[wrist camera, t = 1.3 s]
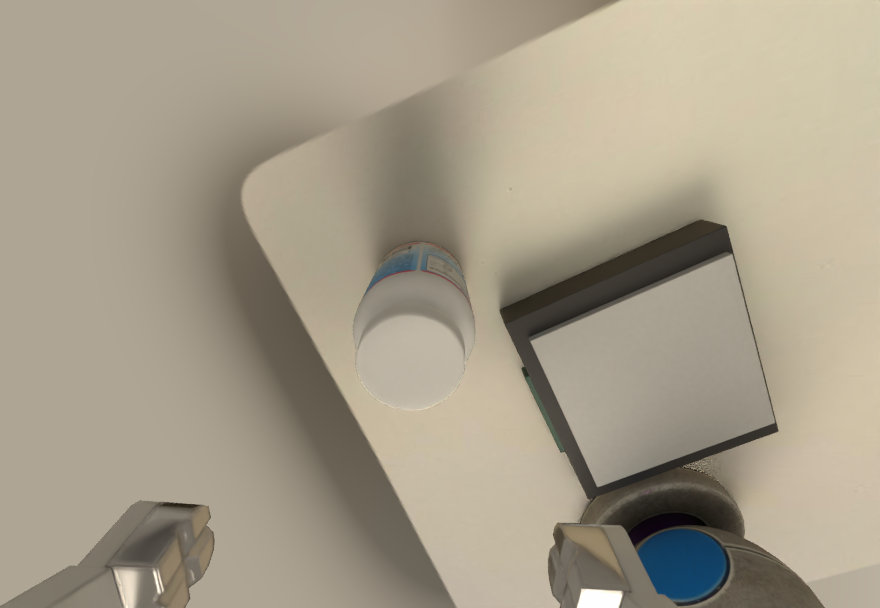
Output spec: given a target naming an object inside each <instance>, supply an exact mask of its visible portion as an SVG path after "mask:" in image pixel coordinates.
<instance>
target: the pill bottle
mask: <svg viewBox="0 0 880 608" xmlns="http://www.w3.org/2000/svg"><path fill="white" fill-rule="evenodd" d="M353 337H354V342H355V346H356V349H357V351H356V370H357V374H358V377H359V379H360V381H361V383H362V385H363V386H364V388H365V389H366V390H367V391H368V393H369V394H370V395H372V396H373V397H374V398H375V399H376V400H378V401H379V402H381V403H383V404H385V405H387V406H390V407H393V408H397V409H401V410H421V409H426V408H429V407H432V406H434V405H437V404H439V403H441V402H442V401H444V400H445V399H447V398H448V397H449V396H450V395H451V394H452V393H453V392H454V391H455V390H456V388H457V387H458V385H459V384H460V382H461V380H462V377H463V374H464V370H465V362H466V361H467V359H468V357H469V356H470V354H471V351H472V348H473V345H474V340H475V322H474V315H473V311H472V307H471V303H470V299H469V295H468V291H467V287H466V282H465V278H464V275H463V272H462V269H461V267H460V265H459V263H458V262H457V261H456V259H455V258H454V257H453V256H452V255H451V254H450V253H449V252H448V251H446V250H445V249H443V248H442V247H440V246H437V245H435V244H431V243H427V242H412V243H407V244H404V245H401V246H399V247H397V248H395V249H394V250H392V251H391V252H390V253H389V254H388V255H387V256H386V257H385V258H384V259H383V260H382V262H381V263H380V265H379V266H378V268H377V270H376V272H375V274H374V276H373V278H372V280H371V282H370V284H369V286H368V288H367V290H366V292H365V294H364V296H363V298H362V300H361V302H360V304H359V306H358V309H357V311H356V314H355V318H354V324H353Z"/></svg>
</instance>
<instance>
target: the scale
mask: <svg viewBox="0 0 880 608" xmlns="http://www.w3.org/2000/svg"><path fill="white" fill-rule="evenodd" d="M500 313H501V316H502V318H503V321H504V324H505V326H506V328H507V330H508V332H509V334H510V336H511V338H512V341H513V343H514V345H515V347H516V349H517V351H518V353H519V355H520V357H521V359H522V362H523V364H524V366H525V367H522V368H521V369H522V372H523V374H524V377H525V379H526V381H527V383H528V385H529V388H530V390H531V392H532V394H533V396H534V398H535V400H536V402H537V404H538V406H539V408H540V410H541V412H542V415H543V417H544V419H545V421H546V423H547V425H548V427H549V429H550V431H551V433H552V435H553V437H554V439H555V442H556V444H557V446H558V448H559V450H560V452H561V453H562V452H564V451H565V452H566V454H567V456H568V458H569V460H570V462H571V464H572V466H573V469H574V471H575V473H576V475H577V477H578V479H579V481H580V483H581V485H582V487H583V490H584V492H585V494H586V496H587V498H588V499H592V498H595V497H597V496H600V495H603V494H606V493H609V492H611V491H614V490H617V489H620V488H622V487H625V486H628V485H631V484H634V483H636V482H639V481H642V480H645V479H648V478H650V477H653V476H656V475H659V474H661V473H664V472H667V471H670V470H673V469H675V468H678V467H681V466H684V465H686V464H689V463H692V462H695V461H698V460H700V459H703V458H706V457H709V456H711V455H714V454H717V453H720V452H723V451H725V450H728V449H731V448H734V447H736V446H739V445H742V444H745V443H748V442H750V441H753V440H756V439H759V438H762V437H764V436H767V435H770V434H773V433H775V432H778V427H777V424H776V420H775V416H774V412H773V408H772V404H771V400H770V396H769V392H768V388H767V384H766V380H765V376H764V372H763V368H762V364H761V360H760V356H759V352H758V349H757V345H756V341H755V337H754V333H753V329H752V325H751V321H750V317H749V313H748V309H747V305H746V301H745V297H744V293H743V289H742V285H741V281H740V277H739V274H738V270H737V266H736V262H735V258H734V254H733V250H732V246H731V242H730V238H729V234H728V230H727V227H726V226H724V225H721V224H717V223H713V222H709V221H705V220H699V221H697V222H695V223H693V224H690V225H688V226H686V227H684V228H682V229H679V230H677V231H675V232H673V233H670V234H668V235H666V236H664V237H662V238H659V239H657V240H655V241H653V242H650V243H648V244H646V245H644V246H641V247H639V248H637V249H635V250H633V251H630V252H628V253H626V254H624V255H621V256H619V257H617V258H615V259H613V260H610V261H608V262H606V263H604V264H601V265H599V266H597V267H595V268H593V269H590V270H588V271H586V272H584V273H581V274H579V275H577V276H575V277H573V278H570V279H568V280H566V281H564V282H561V283H559V284H557V285H555V286H553V287H550V288H548V289H546V290H544V291H541V292H539V293H537V294H535V295H533V296H530V297H528V298H526V299H524V300H521V301H519V302H517V303H515V304H512V305H510V306H508V307H506V308H504V309H501V310H500Z"/></svg>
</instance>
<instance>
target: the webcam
mask: <svg viewBox="0 0 880 608" xmlns="http://www.w3.org/2000/svg"><path fill="white" fill-rule="evenodd" d="M581 524H598V525H620V526H622V527H623V528H624V529H625V530H626V532H627V534H628V536H629V538H630V540H631V542H632V544H633V546H634V548H635V550H636V552H637V554H638V556H639V558H640V560H641V562H642V564H643V566H644V568H645V570H646V572H647V574H648V576H649V578H650V580H651V582H652V584H653V586H654V588H655V590H656V592H657V594H664V595H666V596H667V597H668V598H669V599H670V600H671V601H672V602H674V603H675V604H676V605H677V606H678V607H679V608H824V606H823V605H822V604H821V602H820V601H819V599H818V598H817V597H816V595H815V594H814V593H813V591H812V590H811V589H810V588H809V586H808V585H807V584H806V583H805V582H804V581H803V580H802V579H801V578H800V577H799V576H798V575H797V574H796V573H795V572H793V571H792V570H791V569H790V568H789V567H787V566H786V565H785V564H784V563H782V562H781V561H780V560H779V559H777V558H776V557H775V556H773V555H772V554H770V553H769V552H767V551H766V550H764V549H762V548H761V547H759V546H758V545H756V544H754V543H752V542H750V541H748V540H746V539H744V534H745V528H744V520H743V517H742V514H741V512H740V510H739V508H738V506H737V504H736V503H735V501H734V500H733V498H732V497H731V496H730V495H729V494H728V492H727V491H726V490H725V489H724V488H723V487H722V486H721V485H720V484H719V483H718V482H717V481H715V480H714V479H712V478H711V477H709V476H707V475H705V474H703V473H700V472H697V471H694V470H690V469H684V468H675V469H673V470H670V471H667V472H664V473H661V474H659V475H656V476H653V477H650V478H648V479H645V480H642V481H639V482H636V483H634V484H631V485H628V486H625V487H622V488H620V489H617V490H614V491H611V492H609V493H606V494H603V495H600V496H597V497H596V498H595V499H594V501H593V502H592V503H591V504H590V505H589V507H588V508H587V510H586V512H585V513H584V515H583V518H582V520H581Z"/></svg>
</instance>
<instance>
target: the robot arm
mask: <svg viewBox="0 0 880 608" xmlns="http://www.w3.org/2000/svg"><path fill="white" fill-rule="evenodd" d="M210 518H211V516H210V511H209V507H208V506H205V505H195V504H183V503H170V502H153V501H138V502H136V503H135V504H133V505H131V506H130V508H129V509H128V510H127V511H126V512H125V513H124V514H123V515H122V516H121V518H120V519H119V520H118V521H117V522H116V523H115V524H114V525H113V527H112V528H111V529H110V530H109V531H108V532H107V533H106V534H105V536H104V537H103V538H102V539H101V540H100V541H99V542H98V543H97V544H96V546H95V547H94V548H93V549H92V550H91V551H90V552H89V553H88V554H87V555H86V557H85V558H84V559H83V560H82V561H81V562H80V563H79V564H78V566H69V567H67V568H65V569H63V570H62V571H60V572H58V573H57V574H55V575H53V576H51V577H50V578H48V579H46V580H44V581H43V582H41V583H39V584H38V585H36V586H34V587H32V588H31V589H29V590H27V591H25V592H24V593H22V594H20V595H18V596H17V597H15V598H13V599H12V600H10V601H8V602H6V603H5V604H3V605H1V606H0V608H185V607H186V605H187V603H188V602H189V600H190V593H189V588H190V587H191V586H192V585H194V584H195V583H196V582H198V581H199V580H200V579H201V578H202V577H203V575H204V573H205V571H206V570H207V567H208V566H209V563H210V560H211V557H212V554H213V551H214V534H213V531H211V529H210V528H209V527H208V526H206V524H207V523H208V521H209V520H210ZM553 536H554V540H555V543H556V544H555V545H554V546H553V547H552V548H551V549H550V552H549V558H548V574H549V581H550V586H551V590H552V594H553V596H554V597H555V598H556V599H557V600H558V602H559V603H560V604H561V605H560V608H679V607H678V606H677V605H676V604H675V603H674V602H672V601H671V600H670V599H669V598H668V597H667V596H666V595H664V594H657V592H656V590H655V588H654V586H653V584H652V582H651V580H650V578H649V576H648V574H647V572H646V570H645V568H644V566H643V564H642V562H641V560H640V558H639V556H638V554H637V552H636V550H635V548H634V546H633V544H632V542H631V540H630V538H629V536H628V534H627V532H626V530H625V529H624V528H623V527H622V526H620V525H598V524H577V523H557V524H556V526H555V528H554V532H553Z"/></svg>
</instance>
